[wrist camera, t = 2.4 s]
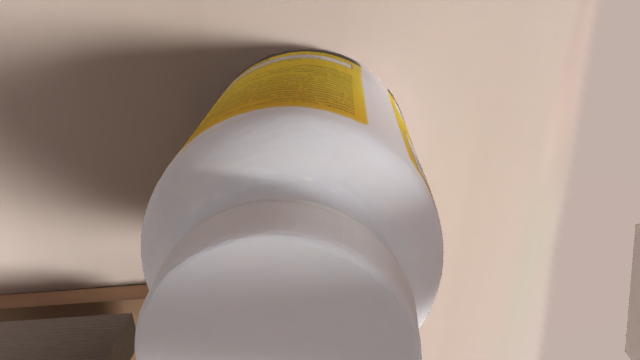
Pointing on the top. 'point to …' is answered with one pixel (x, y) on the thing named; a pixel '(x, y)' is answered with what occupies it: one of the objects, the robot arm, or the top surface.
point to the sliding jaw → (69, 338)
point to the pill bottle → (292, 224)
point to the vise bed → (73, 303)
